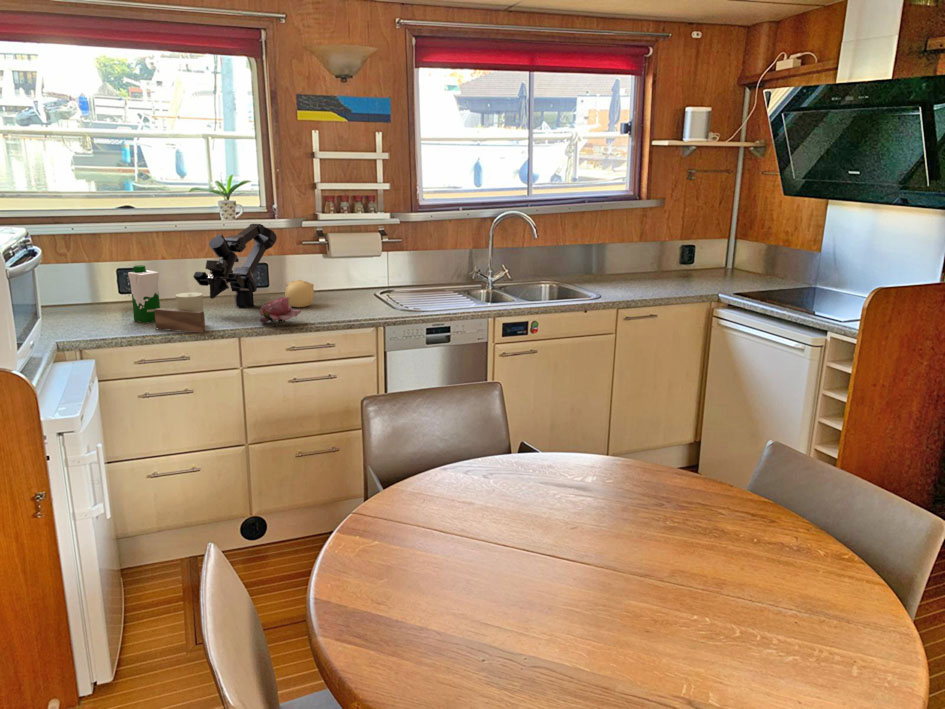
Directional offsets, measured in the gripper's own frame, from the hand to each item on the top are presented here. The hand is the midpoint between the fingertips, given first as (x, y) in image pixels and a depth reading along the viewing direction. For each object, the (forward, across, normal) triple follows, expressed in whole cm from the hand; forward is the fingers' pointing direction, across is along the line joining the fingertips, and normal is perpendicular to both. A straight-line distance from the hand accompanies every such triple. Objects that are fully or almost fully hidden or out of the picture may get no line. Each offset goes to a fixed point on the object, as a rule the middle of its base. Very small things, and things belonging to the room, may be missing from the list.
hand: (211, 298), depth 287 cm
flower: (+7, +29, +4) cm, 30 cm away
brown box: (+20, 0, -9) cm, 22 cm away
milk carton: (+13, -20, -2) cm, 24 cm away
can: (+15, 0, -4) cm, 16 cm away
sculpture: (-16, +21, +27) cm, 38 cm away
